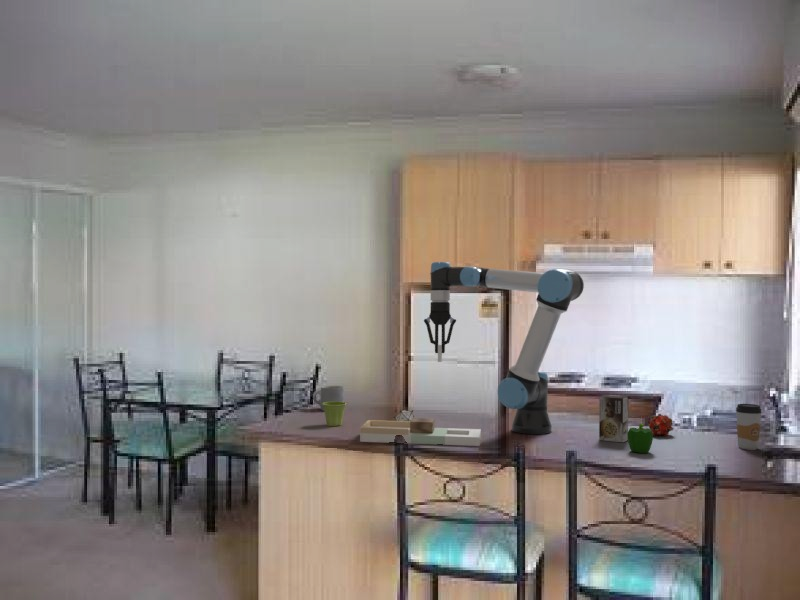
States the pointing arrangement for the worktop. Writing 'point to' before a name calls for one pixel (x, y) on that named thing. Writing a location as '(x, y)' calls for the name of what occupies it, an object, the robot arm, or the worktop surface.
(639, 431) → the bell pepper
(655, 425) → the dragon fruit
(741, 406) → the coffee cup
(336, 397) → the coffee mug
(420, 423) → the walnut block
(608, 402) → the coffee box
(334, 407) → the plant pot
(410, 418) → the game die
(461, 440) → the deck
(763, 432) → the worktop surface
